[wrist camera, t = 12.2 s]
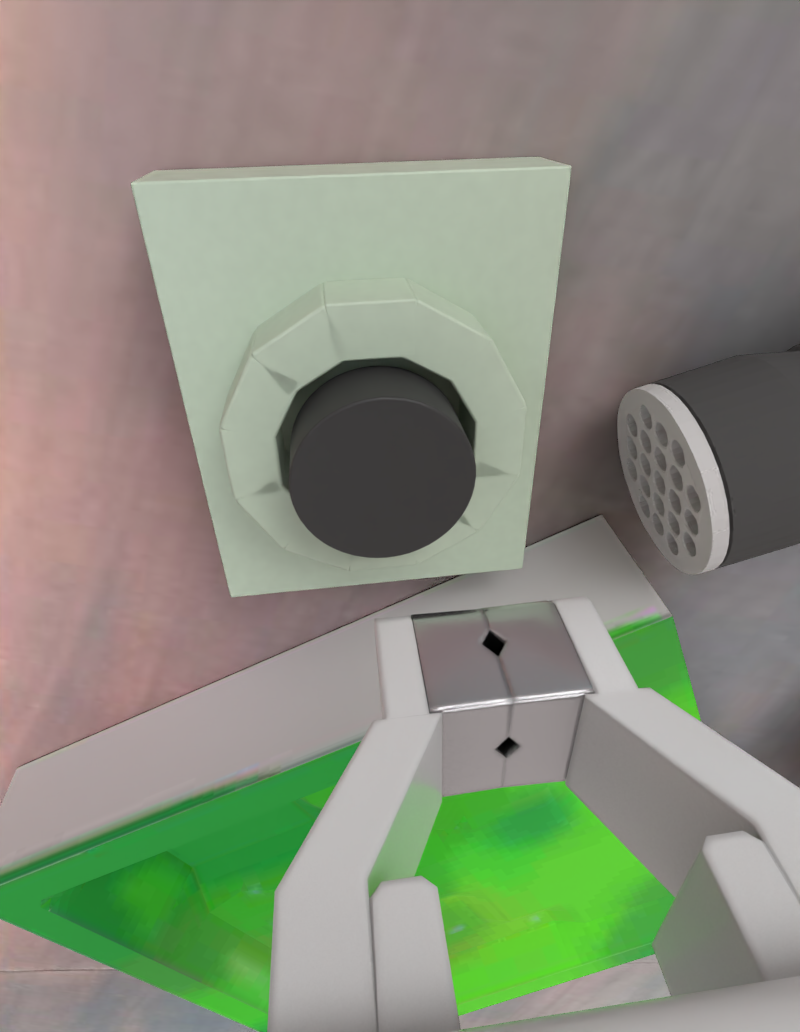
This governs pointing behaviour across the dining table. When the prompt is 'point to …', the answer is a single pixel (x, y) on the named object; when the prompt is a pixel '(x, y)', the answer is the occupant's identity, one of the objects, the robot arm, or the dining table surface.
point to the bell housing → (356, 335)
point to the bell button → (379, 463)
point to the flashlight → (716, 459)
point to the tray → (302, 795)
